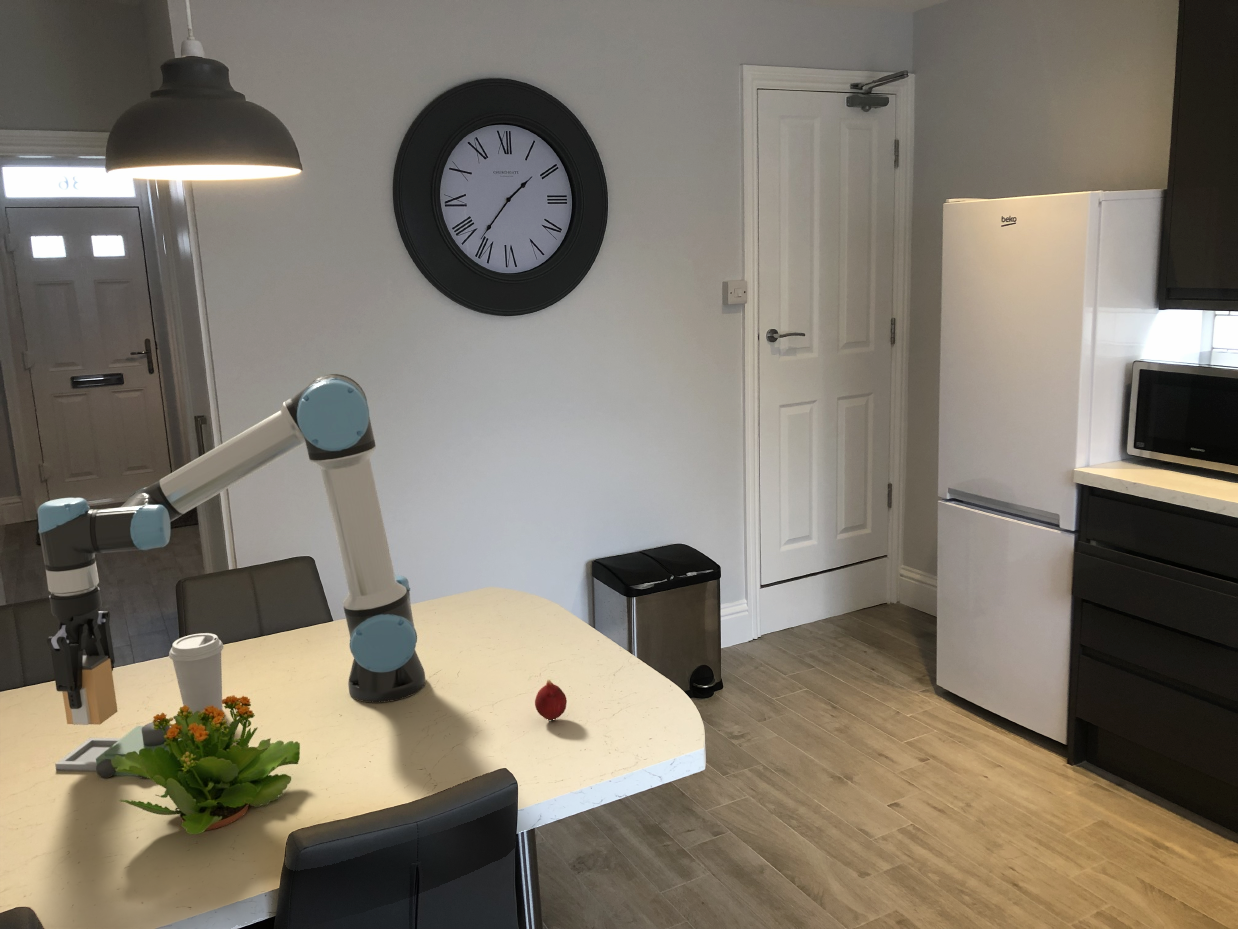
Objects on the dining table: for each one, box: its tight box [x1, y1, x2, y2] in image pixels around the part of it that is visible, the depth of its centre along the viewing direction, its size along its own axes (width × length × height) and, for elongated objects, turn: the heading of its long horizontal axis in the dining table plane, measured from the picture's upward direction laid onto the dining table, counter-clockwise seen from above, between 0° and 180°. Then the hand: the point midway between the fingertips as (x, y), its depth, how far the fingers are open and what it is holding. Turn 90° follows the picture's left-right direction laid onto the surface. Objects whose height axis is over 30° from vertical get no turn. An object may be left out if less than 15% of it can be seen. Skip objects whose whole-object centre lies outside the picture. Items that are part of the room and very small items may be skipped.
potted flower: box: [111, 695, 301, 835], centre depth 146 cm, size 25×24×18 cm
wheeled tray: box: [55, 721, 182, 780], centre depth 167 cm, size 20×14×6 cm
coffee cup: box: [168, 632, 224, 714], centre depth 182 cm, size 10×10×15 cm
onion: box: [534, 679, 568, 721], centre depth 175 cm, size 6×6×8 cm
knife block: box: [62, 655, 119, 726], centre depth 165 cm, size 6×5×11 cm
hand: (92, 715), depth 166 cm, fingers closed on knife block, 5 cm apart
